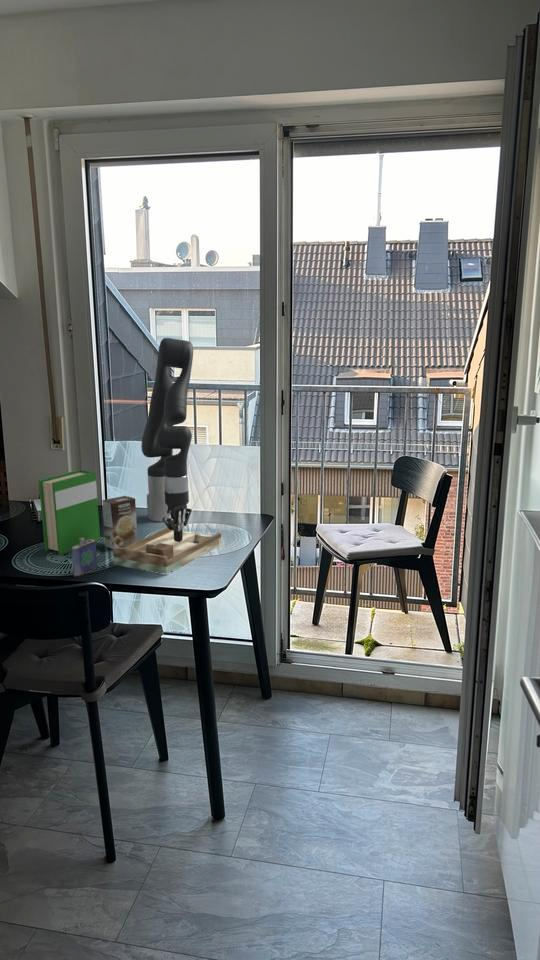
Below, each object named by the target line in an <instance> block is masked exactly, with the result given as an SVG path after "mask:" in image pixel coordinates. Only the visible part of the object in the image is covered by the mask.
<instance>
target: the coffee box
mask: <svg viewBox="0 0 540 960" xmlns="http://www.w3.org/2000/svg"><path fill="white" fill-rule="evenodd" d="M102 516H103V531H104V532H103V533H104V534H103V535H104V546H105V547H106V548H109V549H111V550H113V548H114V547H119V548H124V547H126V546H128V545H131V544H133V543H135V542H137V541H138V527H137V526H138V525H137V507H136V498H134V497H131V496H126V495H123V496H117V497H112V498H108V499H102Z"/></svg>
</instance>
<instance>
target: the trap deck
mask: <svg viewBox="0 0 540 960" xmlns="http://www.w3.org/2000/svg"><path fill="white" fill-rule="evenodd" d="M182 531H183V538H182V539H183V540H182V541H180V542H176V541H175V540H174V531H173V530H169V529H168V527H167V526H166V527H165V528H163V529H161V530H158V531H157V532H155V533H152V534H150V535H148V536H146V537H144V538H141V539H140V540H137V542H135V543H133V544H131V545H128V546H126V547H124V548H119V547H114V548H113V549H112V550H113V564H114V565H115V566H121V567H125V568H129V569H135V570H139V569H140V571H144V570H146V571H145V572H149V571H153V572H158V573H165V574H167V573H169V572H171V571H173V570H175V569H177V570H178V568H179V567H180V568H182V567H184V566H186V565H188V564H189V563H191V562H193V561H195V560H196V559H198V558H200V557H202V556H204V555H206V554H207V553H209V552H210V551H212V550H214V549H217V548H218V547H219V546H221V545H222V532H217V533H215V534H213V535H211V534H210V535H209V534H205V533H196V532H192V531H185V530H182ZM159 543H163V544H168V545H173V556H174V557H172V558H170V559H168V557H166V556H161V555H156V554H151V553H150V552H149V551H150V548H151V547H153V546H155V545H157V544H159ZM185 564H186V565H185ZM183 565H184V566H183ZM181 566H182V567H181ZM180 568H179V569H180ZM175 571H176V570H175ZM153 572H152V573H153ZM173 572H174V571H173ZM158 573H157V574H158ZM171 573H172V572H171Z"/></svg>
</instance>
